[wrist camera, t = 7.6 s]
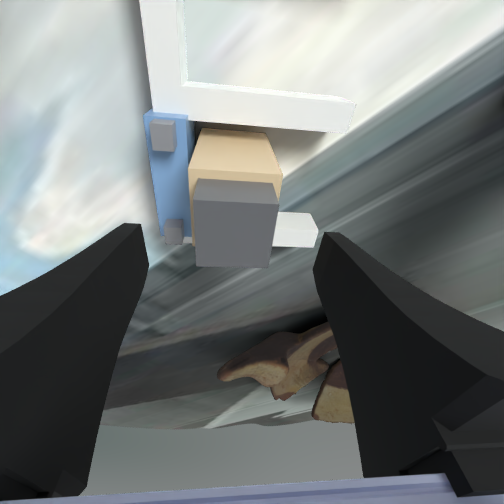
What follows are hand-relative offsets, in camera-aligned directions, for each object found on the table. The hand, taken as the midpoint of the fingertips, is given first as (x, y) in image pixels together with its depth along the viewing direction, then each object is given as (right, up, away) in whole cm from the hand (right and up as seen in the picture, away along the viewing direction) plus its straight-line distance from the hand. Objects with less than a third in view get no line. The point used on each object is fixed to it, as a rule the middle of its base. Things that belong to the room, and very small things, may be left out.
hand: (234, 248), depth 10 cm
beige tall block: (-1, +6, +7) cm, 9 cm away
